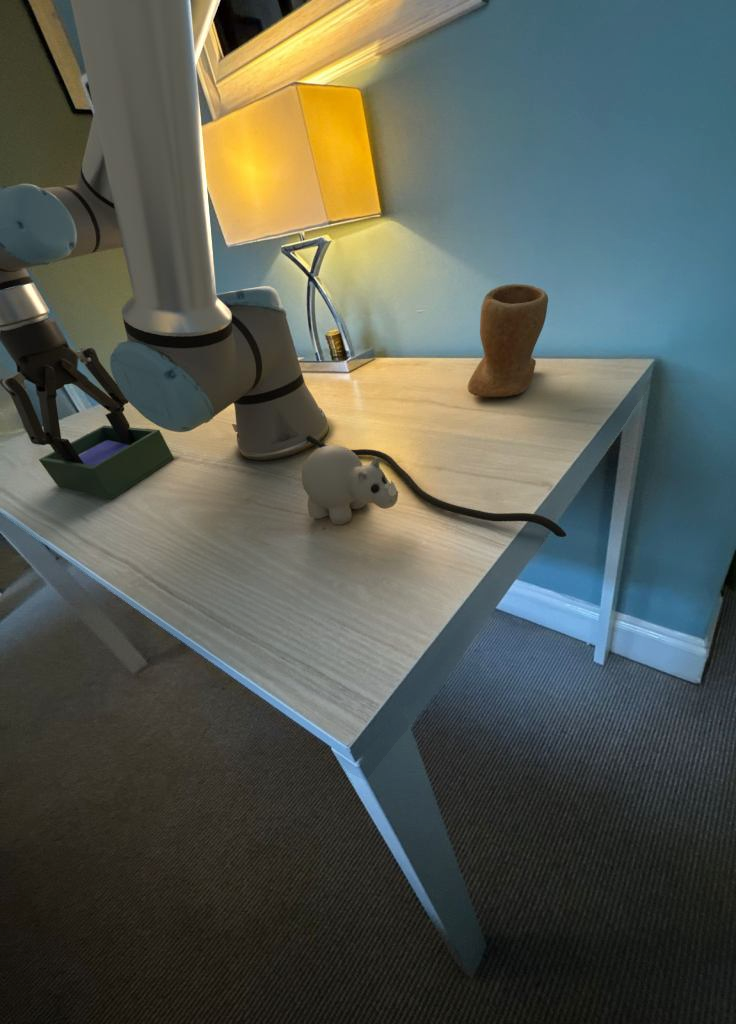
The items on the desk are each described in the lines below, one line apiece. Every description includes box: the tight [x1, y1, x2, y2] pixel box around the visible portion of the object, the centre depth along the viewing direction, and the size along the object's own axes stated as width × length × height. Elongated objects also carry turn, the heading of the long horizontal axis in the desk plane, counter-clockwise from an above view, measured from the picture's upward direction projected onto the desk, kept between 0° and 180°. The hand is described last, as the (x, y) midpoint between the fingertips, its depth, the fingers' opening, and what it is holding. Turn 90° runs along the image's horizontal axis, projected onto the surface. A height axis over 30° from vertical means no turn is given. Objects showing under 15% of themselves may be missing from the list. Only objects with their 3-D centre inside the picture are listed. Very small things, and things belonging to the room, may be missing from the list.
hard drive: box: [68, 440, 129, 466], centre depth 75 cm, size 2×8×12 cm
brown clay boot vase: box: [467, 283, 549, 398], centre depth 69 cm, size 15×12×15 cm
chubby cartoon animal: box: [301, 444, 399, 525], centre depth 49 cm, size 7×12×8 cm, turn 55°
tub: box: [38, 425, 175, 500], centre depth 75 cm, size 17×13×6 cm
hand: (108, 460), depth 75 cm, fingers closed on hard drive, 8 cm apart
